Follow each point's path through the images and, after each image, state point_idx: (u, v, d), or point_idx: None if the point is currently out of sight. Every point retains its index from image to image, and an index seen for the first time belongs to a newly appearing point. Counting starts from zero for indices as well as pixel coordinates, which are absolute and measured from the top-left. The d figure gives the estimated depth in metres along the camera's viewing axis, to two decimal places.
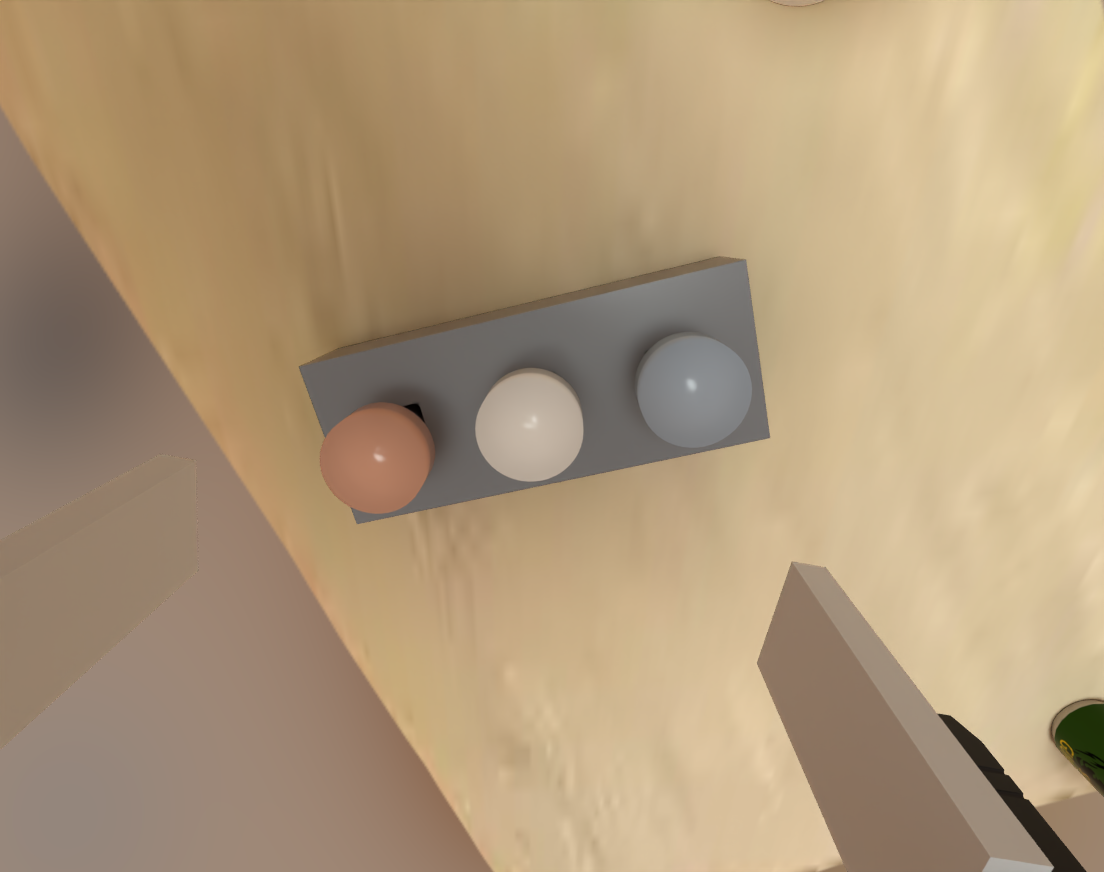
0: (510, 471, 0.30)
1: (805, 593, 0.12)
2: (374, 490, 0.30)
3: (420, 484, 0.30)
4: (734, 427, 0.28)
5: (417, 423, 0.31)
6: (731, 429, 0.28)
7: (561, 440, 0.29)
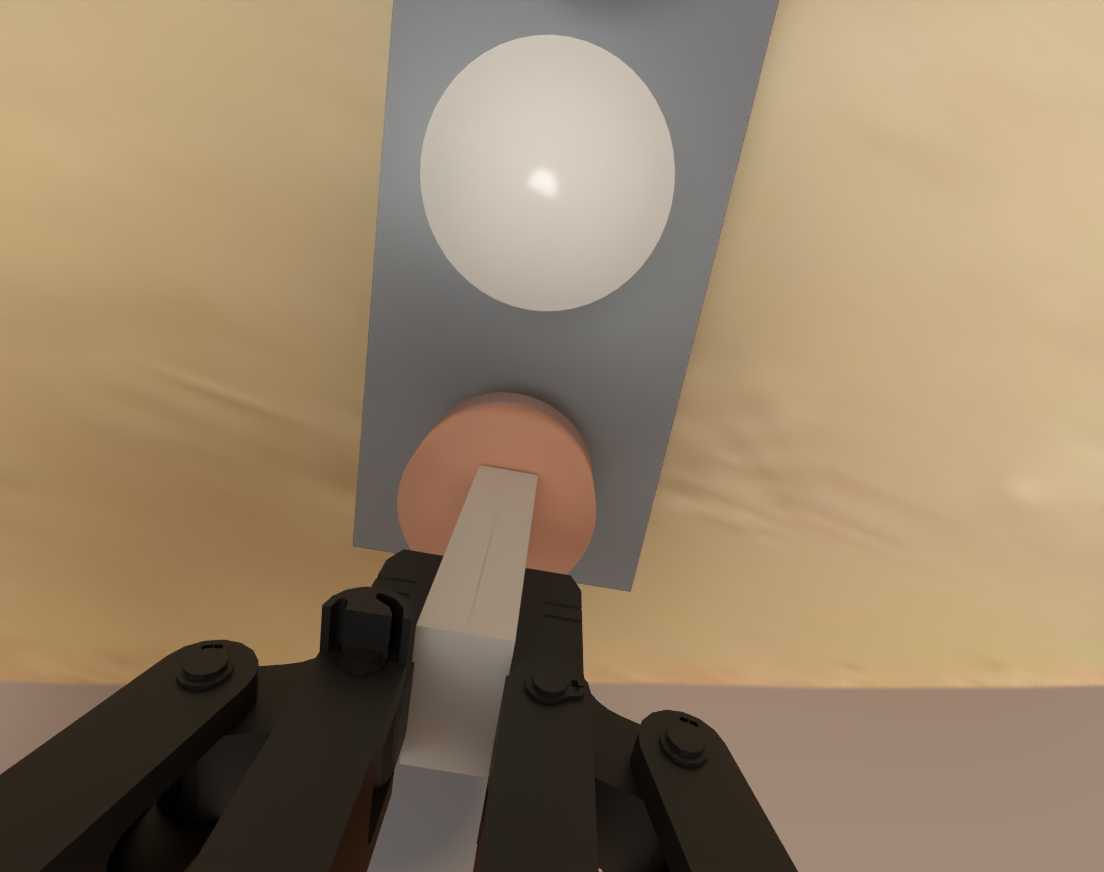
0: (619, 268, 0.13)
1: None
2: (542, 530, 0.16)
3: (566, 449, 0.15)
4: None
5: (471, 403, 0.17)
6: None
7: (598, 113, 0.12)
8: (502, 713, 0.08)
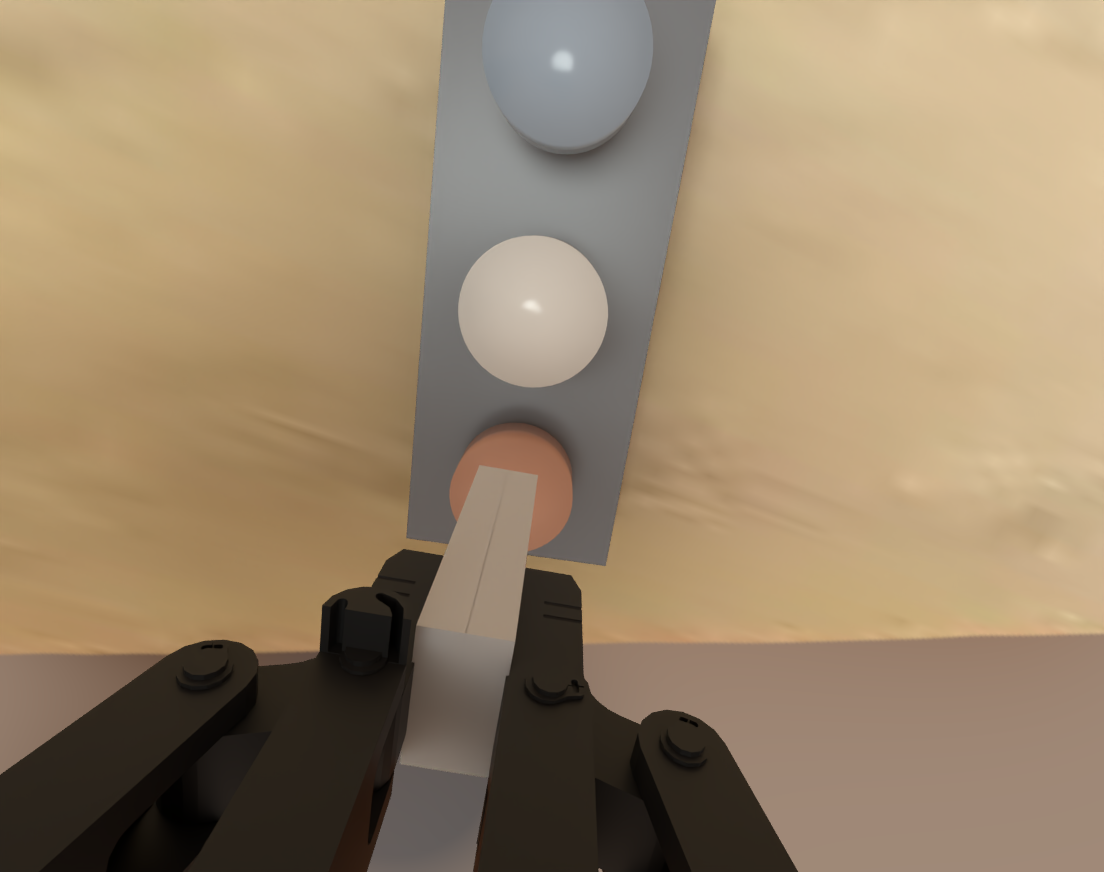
0: (578, 361, 0.21)
1: None
2: (539, 509, 0.26)
3: (552, 458, 0.25)
4: (640, 2, 0.18)
5: (493, 430, 0.26)
6: (641, 8, 0.18)
7: (561, 276, 0.20)
8: (502, 713, 0.08)
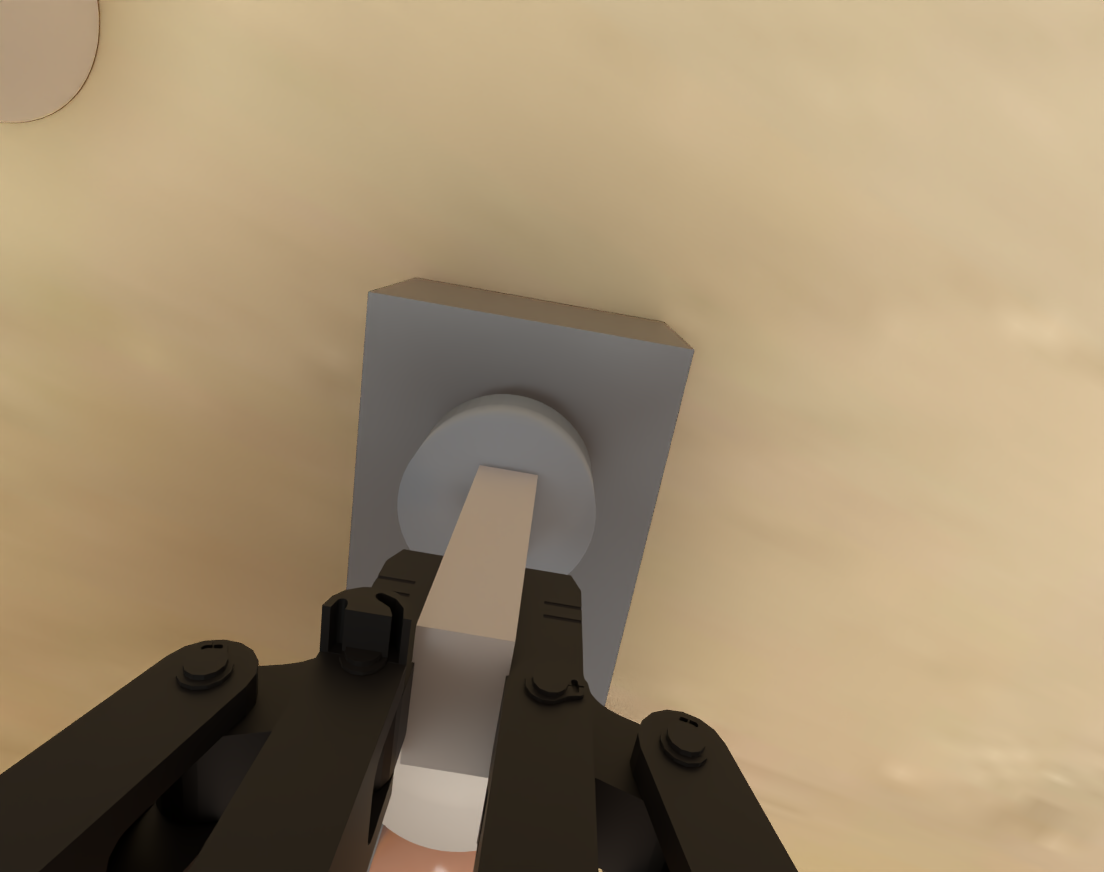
0: None
1: None
2: None
3: None
4: (581, 472, 0.15)
5: None
6: (582, 479, 0.15)
7: None
8: (502, 713, 0.08)
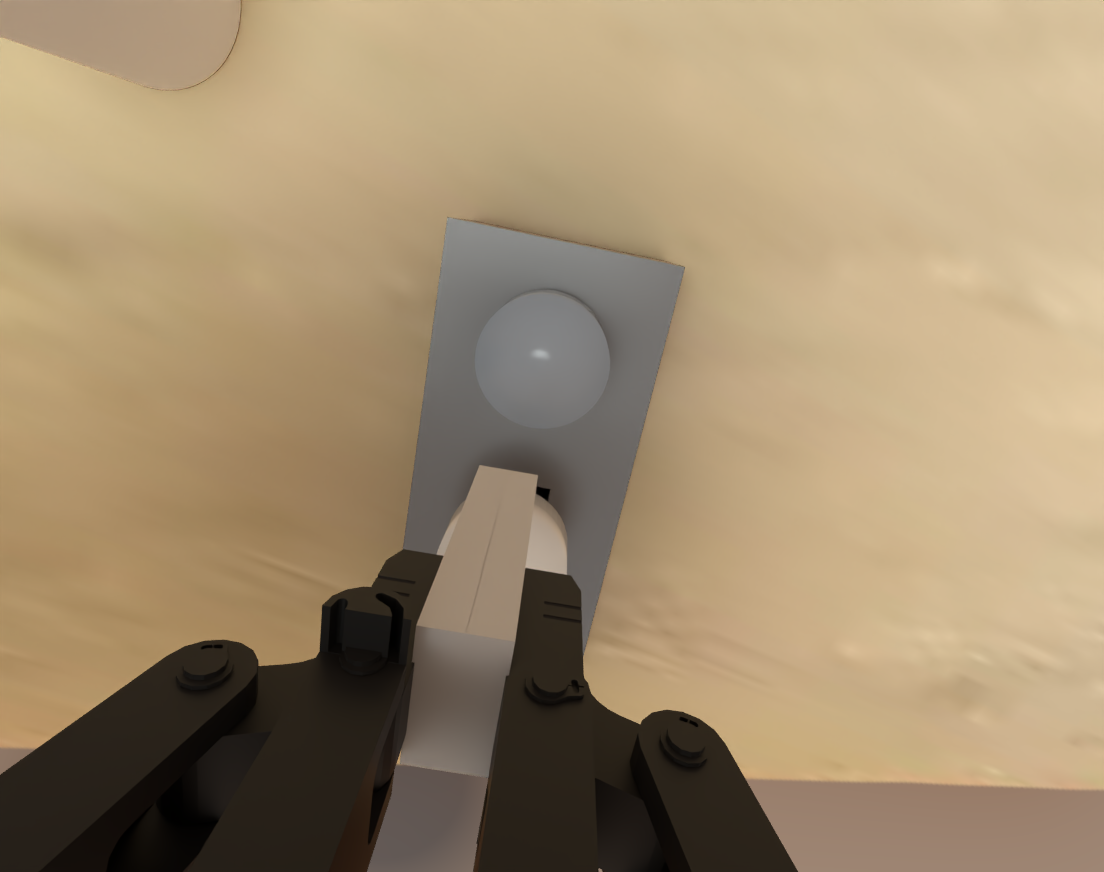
0: None
1: None
2: None
3: None
4: (601, 335, 0.23)
5: None
6: (601, 339, 0.23)
7: None
8: (502, 713, 0.08)
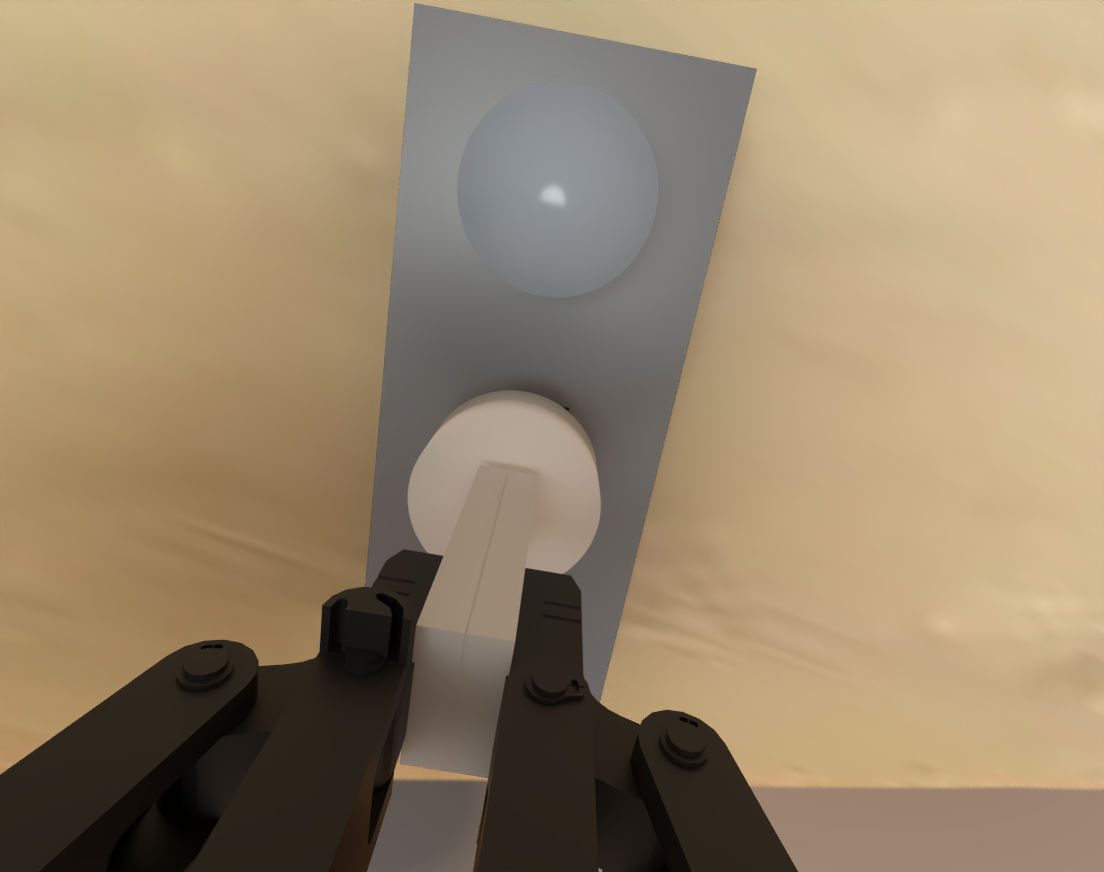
0: (560, 562, 0.17)
1: None
2: None
3: None
4: (645, 144, 0.15)
5: None
6: (646, 151, 0.15)
7: (541, 463, 0.16)
8: (502, 713, 0.08)
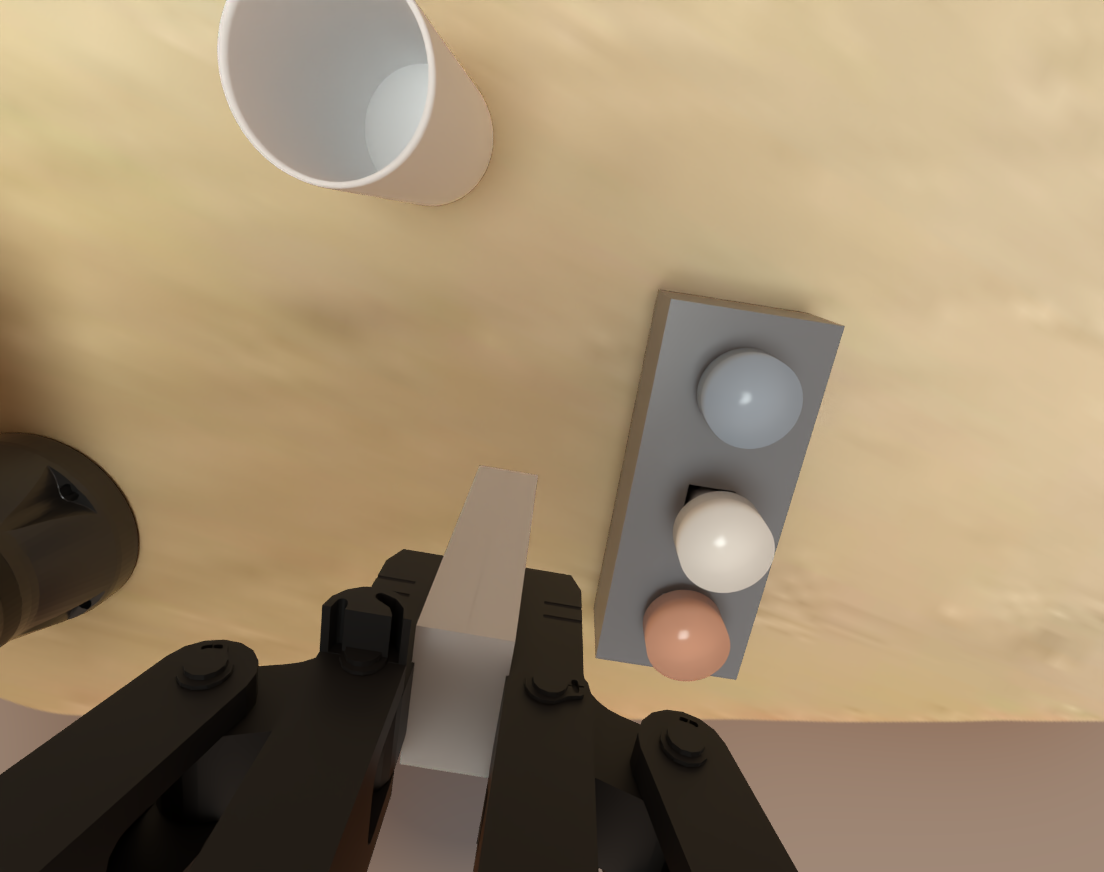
0: (752, 578, 0.34)
1: None
2: (706, 654, 0.38)
3: (719, 623, 0.37)
4: (797, 381, 0.32)
5: (672, 597, 0.39)
6: (798, 385, 0.32)
7: (747, 531, 0.33)
8: (502, 713, 0.08)
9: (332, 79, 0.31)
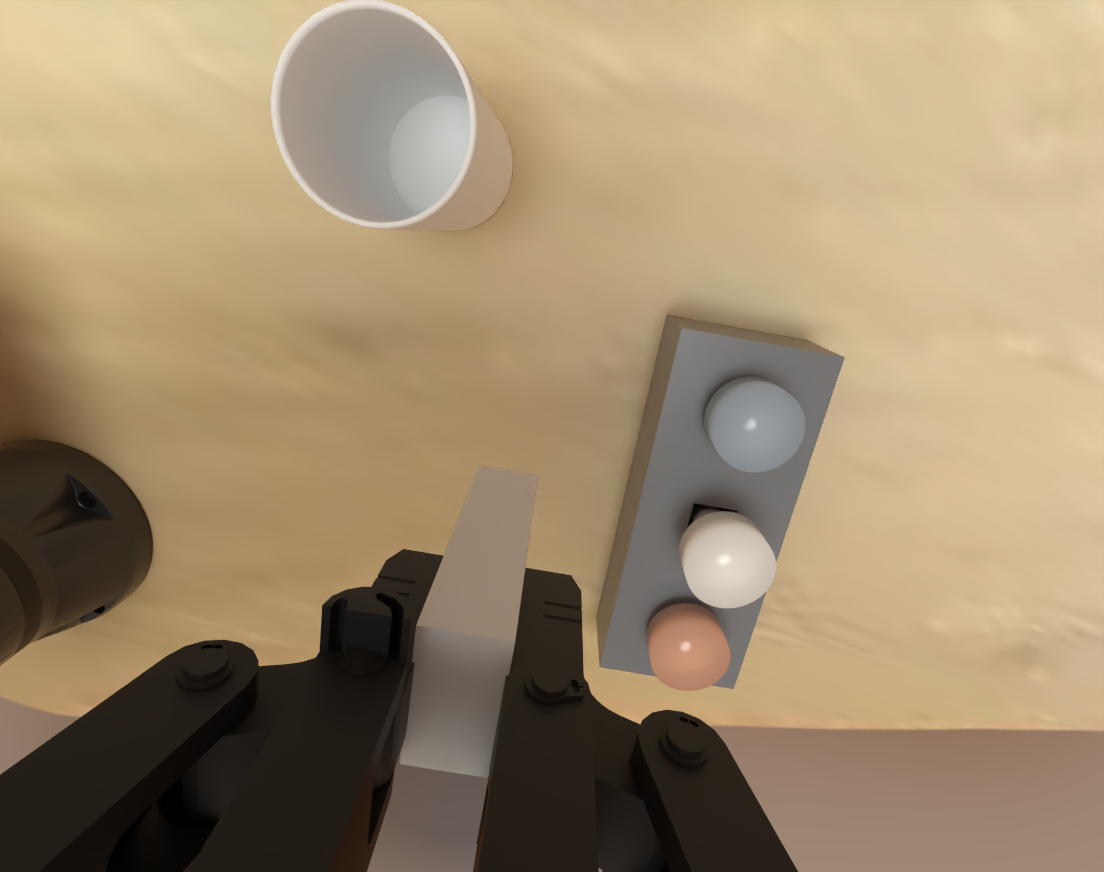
0: (754, 595, 0.35)
1: None
2: (707, 665, 0.40)
3: (720, 636, 0.39)
4: (800, 410, 0.34)
5: (676, 610, 0.40)
6: (801, 413, 0.34)
7: (750, 551, 0.35)
8: (502, 713, 0.08)
9: (364, 114, 0.33)
